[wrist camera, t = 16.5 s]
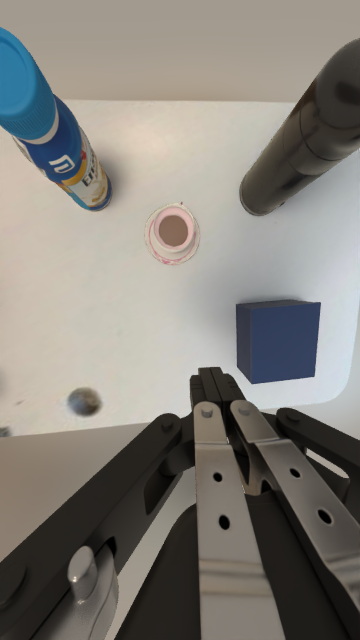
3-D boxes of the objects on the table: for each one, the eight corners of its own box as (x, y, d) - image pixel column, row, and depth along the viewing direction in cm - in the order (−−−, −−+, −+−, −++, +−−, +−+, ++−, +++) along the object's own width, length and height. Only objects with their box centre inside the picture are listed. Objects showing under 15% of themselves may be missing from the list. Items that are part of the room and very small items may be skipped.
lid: (317, 302, 36) (321, 302, 35) (311, 375, 39) (314, 376, 38) (250, 308, 35) (252, 309, 34) (250, 382, 38) (251, 384, 37)
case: (289, 299, 43) (313, 302, 36) (286, 361, 46) (308, 375, 39) (235, 304, 42) (249, 308, 35) (236, 367, 45) (249, 382, 38)
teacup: (189, 272, 40) (193, 269, 34) (138, 255, 38) (133, 249, 32) (206, 218, 38) (214, 205, 32) (153, 197, 36) (150, 180, 30)
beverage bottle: (68, 164, 34) (-68, -1, 14) (112, 167, 34) (40, 14, 15) (72, 211, 36) (-45, 121, 16) (114, 214, 36) (51, 130, 17)
